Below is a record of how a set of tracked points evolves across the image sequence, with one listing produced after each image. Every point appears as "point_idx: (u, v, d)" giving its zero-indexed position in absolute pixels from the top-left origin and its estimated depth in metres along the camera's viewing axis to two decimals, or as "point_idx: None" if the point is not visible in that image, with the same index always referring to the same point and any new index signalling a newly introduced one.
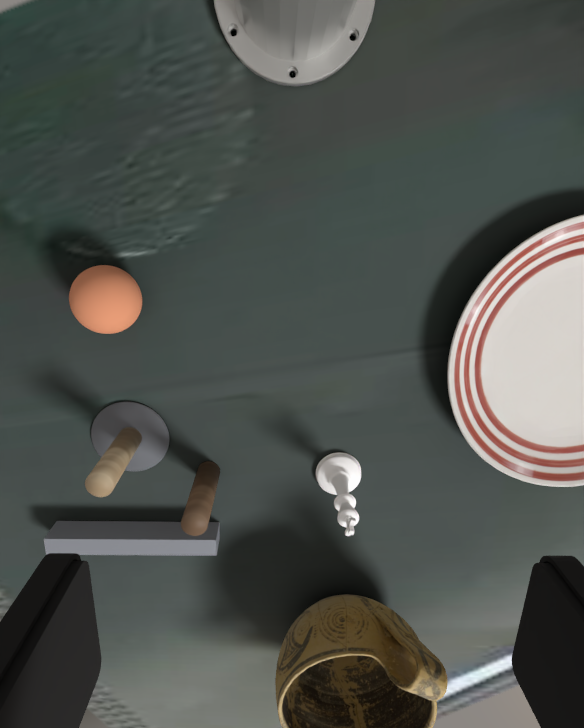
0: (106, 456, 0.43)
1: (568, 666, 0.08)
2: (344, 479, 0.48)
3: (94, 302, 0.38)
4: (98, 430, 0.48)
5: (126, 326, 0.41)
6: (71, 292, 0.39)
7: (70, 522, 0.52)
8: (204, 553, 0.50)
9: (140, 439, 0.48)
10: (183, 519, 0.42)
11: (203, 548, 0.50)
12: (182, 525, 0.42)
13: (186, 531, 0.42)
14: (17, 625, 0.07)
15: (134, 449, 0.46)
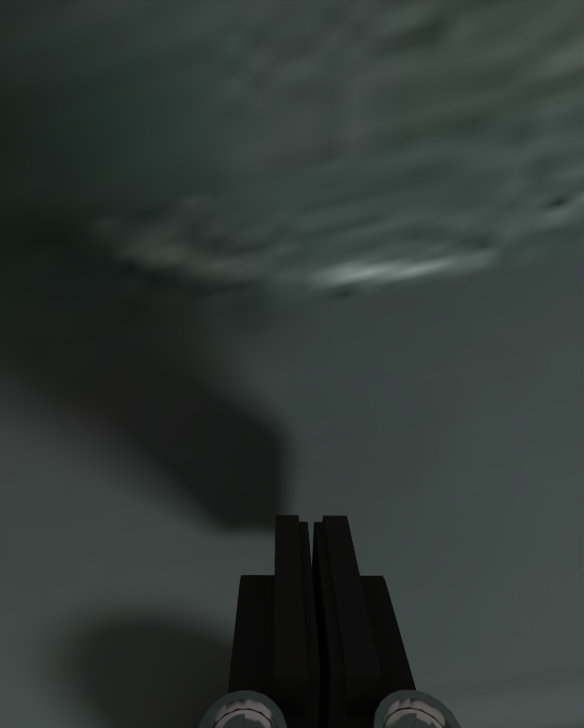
0: None
1: (317, 609, 0.09)
2: None
3: None
4: None
5: None
6: None
7: None
8: None
9: None
10: None
11: None
12: None
13: None
14: (291, 569, 0.09)
15: None
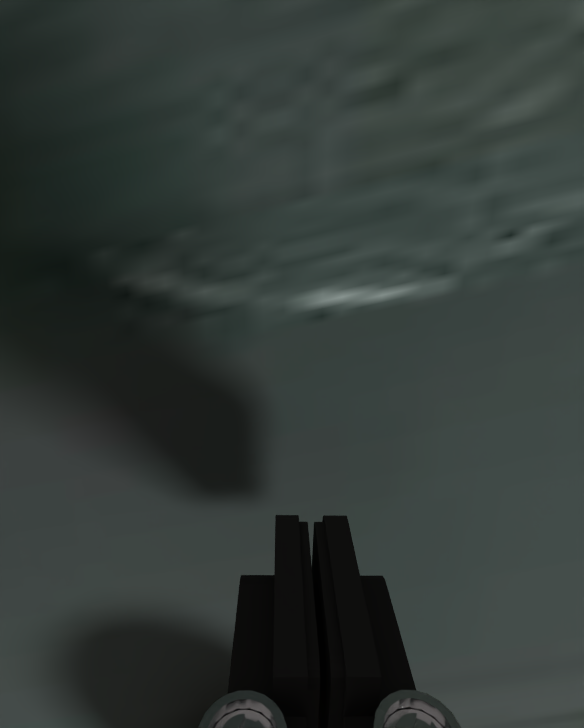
0: None
1: (317, 609, 0.09)
2: None
3: None
4: None
5: None
6: None
7: None
8: None
9: None
10: None
11: None
12: None
13: None
14: (290, 569, 0.09)
15: None
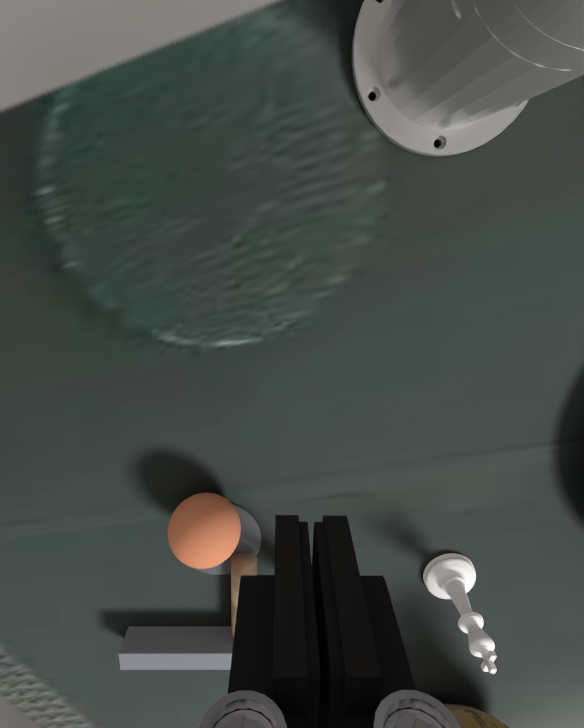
0: None
1: (317, 609, 0.09)
2: (462, 587, 0.43)
3: None
4: None
5: (227, 509, 0.38)
6: None
7: (144, 627, 0.46)
8: None
9: None
10: None
11: None
12: None
13: None
14: (290, 569, 0.09)
15: None
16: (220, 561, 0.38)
